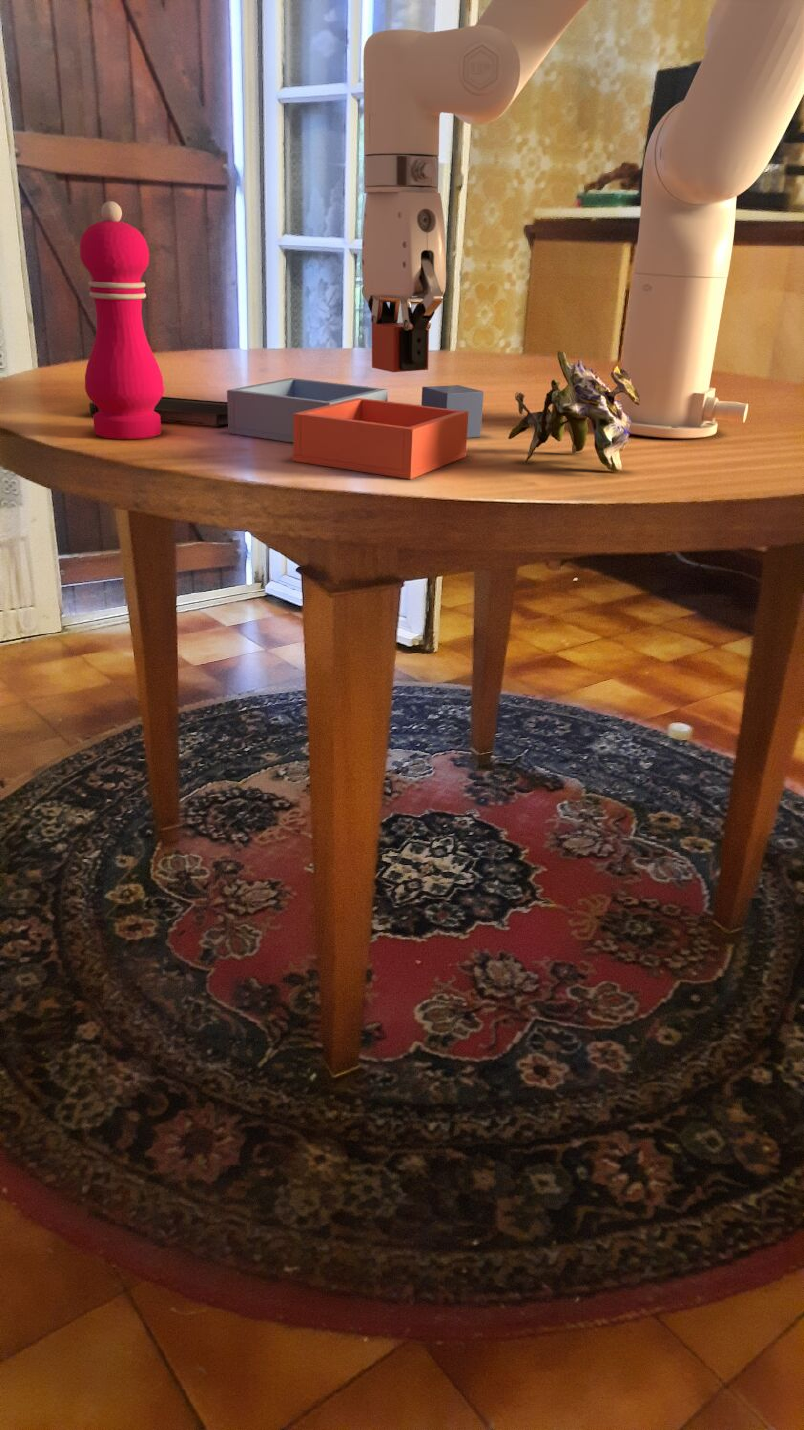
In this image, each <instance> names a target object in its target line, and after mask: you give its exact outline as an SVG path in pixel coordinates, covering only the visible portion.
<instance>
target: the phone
mask: <svg viewBox="0 0 804 1430" xmlns="http://www.w3.org/2000/svg"><path fill="white" fill-rule="evenodd" d="M97 412H99V409H98V407H97V406H96V405H95V404H94V403H93V402H92V401H89V413H90V415H91V416H93V415H94V414H95V413H97ZM154 412H157V413H158V414H159V415H160V416H161V422H166V423H179V424H190V425H200V426H201V425H202V426H212V427H213V426H214V427H215V426H216V427H217V426H218V427H219V426H228V407H227V401H218V400H207V399H195V398H183V397H171V396H170V397H169V396H162V398H161V399H160V401H159V402H158V403H157V405H156V406H155V408H154Z"/></svg>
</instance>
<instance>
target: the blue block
mask: <svg viewBox="0 0 804 1430" xmlns="http://www.w3.org/2000/svg"><path fill="white" fill-rule="evenodd" d="M484 393H485V392H484V391H483V390H480V389H475V388H472V387H467V386H463V385H459V384H455V385H454V384H453V385H451V384H450V385H430V386H421V404H420V406H428V407H436V408H445V409H453V410H460V411H468V412H469V415H468V430H467V439H473V438H480V437H481V435H482V420H483V406H484Z"/></svg>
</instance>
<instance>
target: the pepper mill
mask: <svg viewBox="0 0 804 1430" xmlns="http://www.w3.org/2000/svg"><path fill="white" fill-rule="evenodd" d="M100 213H101V217H102V218H103V220H102V221H99V222H96V223H92V224H91V225H89V226H88V227H87V228H86V229H85V231H84V232H83V233H82V235H81V238H80V242H79V255H80V257H79V258H80V261H81V263H82V265H83V267H84V268H85V270H86V271H87V272H88V273H89V274H90V276H91V280H89V281H88V283H87V284H88V286H89V293H88V295H89V297H91V298H93V299H94V305H95V311H96V332H95V337H94V338H95V339H94V342H93V346H92V349H91V352H90V354H89V358H88V361H87V363H86V368H85V373H84V390H85V393H86V395H87V397H88V398H89V400H90V402H93V403H94V404H95V405H96V406H97V407H98V409H99V412H97V413H95V414H94V415H92V418H93V419H92V420H93V431H94V433H95V435H96V436H98V437H101V438H105V439H113V440H144V439H150V438H155V437H158V436H160V434H162V421H161V416H160V415H159V414H158V413H157V412H154V408H155V406H156V405H157V403H158V402H159V401H160V399H161V398H162V397H164V396H163V395H164V394H165V384H164V378H163V374H162V371H161V368H160V365H159V364H158V361H157V359H156V357H155V355H154V353H153V351H152V349H151V346H150V344H149V342H148V339H147V336H146V333H145V329H144V322H143V313H142V310H143V309H142V308H143V300H144V299H146V298H147V294H146V293H145V291H146V290H145V287H146V283H145V282H144V281H141V280H142V276H143V274H144V273H145V271H147V269H148V267H149V264H150V250H149V247H148V243H147V241H146V239H145V237H144V235H143V234H142V232H140V230H138V229H137V228H136V227H134V226H132V225H131V224H129V223H126V222H123V221H121V220H122V217H123V211H122V207H121V206H120V205H119V204H118V203H117V202H115V201H112V200H108V201H106V202H104V203H103V204H102V206H101V209H100Z"/></svg>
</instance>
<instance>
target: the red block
mask: <svg viewBox="0 0 804 1430" xmlns="http://www.w3.org/2000/svg"><path fill="white" fill-rule="evenodd" d="M400 330H404V327H403V322H397V323H383V324H372V323H371V368H373V369H376V370H381V371H386V372H390V373H401V372H418V371H428V370H429V355H430V354H429V351H430V329H429V330H428V338H427V367H426V369H420V370H407V371H404V370H401V369H400V368H399V336H400Z"/></svg>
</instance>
